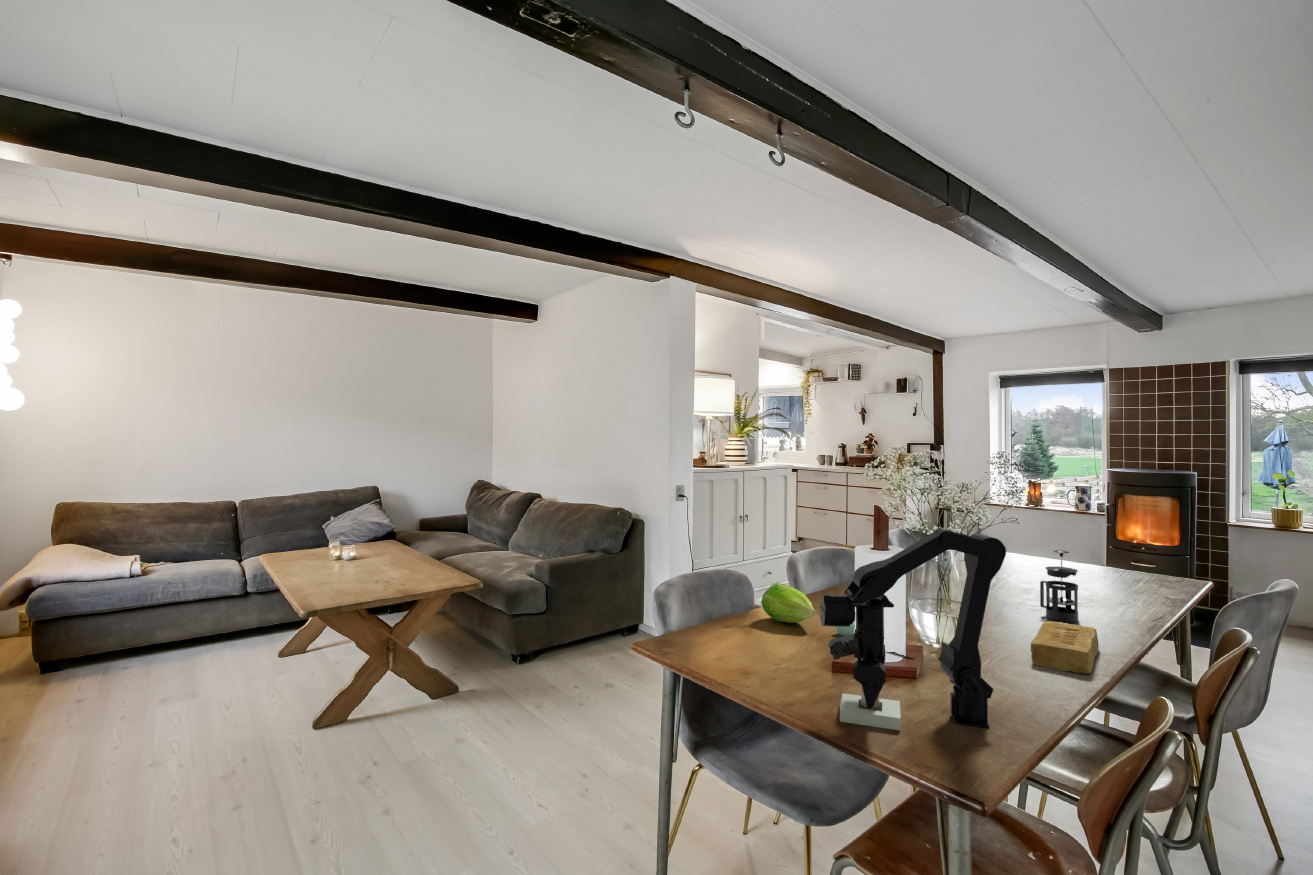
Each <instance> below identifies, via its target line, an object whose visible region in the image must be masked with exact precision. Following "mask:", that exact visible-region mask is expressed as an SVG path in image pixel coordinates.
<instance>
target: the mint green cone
mask: <svg viewBox="0 0 1313 875" xmlns="http://www.w3.org/2000/svg"><path fill="white" fill-rule="evenodd" d="M855 622H856V620H855V621H854V622H853V624H850V626H849V627H840V626H834V628H835V631H836V632H837V634H838V635H841V636H846V635H852V634H854V628H855Z"/></svg>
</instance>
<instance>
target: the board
mask: <svg viewBox="0 0 1313 875" xmlns="http://www.w3.org/2000/svg"><path fill="white" fill-rule="evenodd" d="M841 694H842V695H841V700H840V706H839V707H840V708H839V722H840V723H848V724H853V725H861V726H868V727H874V728H881V729H888V730H895V731H900V732H901V731H902V729H901V727H902V726H901V725H902V722H901V719H902V718H901V717H902V716H901V701H900V700H895V699H887V698H880V697H879V710H878V711H875V710H868V709H863V708H862V707H861V695H859V694H858V695H857V694H851V693H841Z"/></svg>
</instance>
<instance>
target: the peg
mask: <svg viewBox="0 0 1313 875" xmlns="http://www.w3.org/2000/svg"><path fill="white" fill-rule="evenodd" d="M860 685H861V684H860ZM860 689H861V692H860V693H861V694H860V696H861V707H862V708H863V709H868V710H875V711H878V710H879V698H880V694H879V695H878V697H877V700H876V702H875V704H874V706H873V708H867V705H866V700H865V696H864V692H863V688H862V685H861V688H860Z"/></svg>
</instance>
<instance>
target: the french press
mask: <svg viewBox="0 0 1313 875" xmlns="http://www.w3.org/2000/svg"><path fill="white" fill-rule="evenodd" d="M1053 552H1054V553H1057V554H1059V557H1060V566H1047V567H1045V570H1046V572H1047V573H1046V574H1047V576H1051V577H1054V578H1060V580H1048V581H1047V580H1040V582H1039V584H1040V586H1039V587H1040V590H1039V593H1040V594H1039V595H1040V596H1039V598H1040V599H1039V600H1040V601H1039V602H1040V603H1039V604H1040V605H1039V606H1040V607H1041V608H1044V609H1045V616H1044V617H1045V619H1046V620H1047V621H1050V622H1061V623H1076V624H1078V623H1077V622H1079V623H1080V620H1079V608H1078V607H1079V606H1078V605H1079V602H1078V600H1079V599H1078V598H1079V597H1078V596H1079V595H1078V593H1079V592H1078V591H1079V585H1078V584H1076V583H1073V582H1068V581H1063V579H1066V578H1068V577H1070V576H1074V577H1075V576H1076V575H1077V573H1078V571H1079V570H1077V569H1076V568H1072V567H1066V566H1063V558H1064V554H1069V553H1070V552H1069V551H1067V550H1063V549H1061V550H1060V549H1059V550H1058V549H1057V550H1054V551H1053ZM1044 587H1046V588H1044ZM1050 589H1051V590H1050ZM1045 590H1046V591H1045ZM1050 591H1051V592H1050ZM1059 591H1060V597H1059ZM1063 591H1065V597H1063ZM1045 592H1046V595H1045ZM1072 592H1073V594H1074V595H1073V596H1074V600H1073V599H1072ZM1050 594H1051V596H1050ZM1045 596H1046V597H1045ZM1045 598H1046V599H1045ZM1045 600H1046V603H1045ZM1045 604H1046V605H1045ZM1059 605H1060V606H1059ZM1072 606H1073V607H1074V608H1072Z"/></svg>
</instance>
